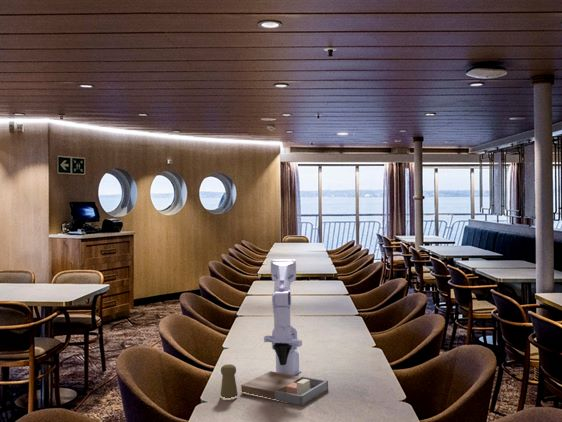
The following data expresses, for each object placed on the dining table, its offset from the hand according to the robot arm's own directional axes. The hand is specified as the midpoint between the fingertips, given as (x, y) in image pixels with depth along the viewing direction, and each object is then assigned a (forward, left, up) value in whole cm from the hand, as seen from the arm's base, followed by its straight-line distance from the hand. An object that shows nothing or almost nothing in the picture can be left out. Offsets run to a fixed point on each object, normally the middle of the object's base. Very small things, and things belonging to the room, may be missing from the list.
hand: (283, 364), depth 194 cm
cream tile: (+1, +7, -7) cm, 10 cm away
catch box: (0, +8, -9) cm, 12 cm away
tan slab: (0, -4, -9) cm, 10 cm away
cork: (+14, -13, -10) cm, 22 cm away
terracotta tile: (+1, +5, -9) cm, 10 cm away
